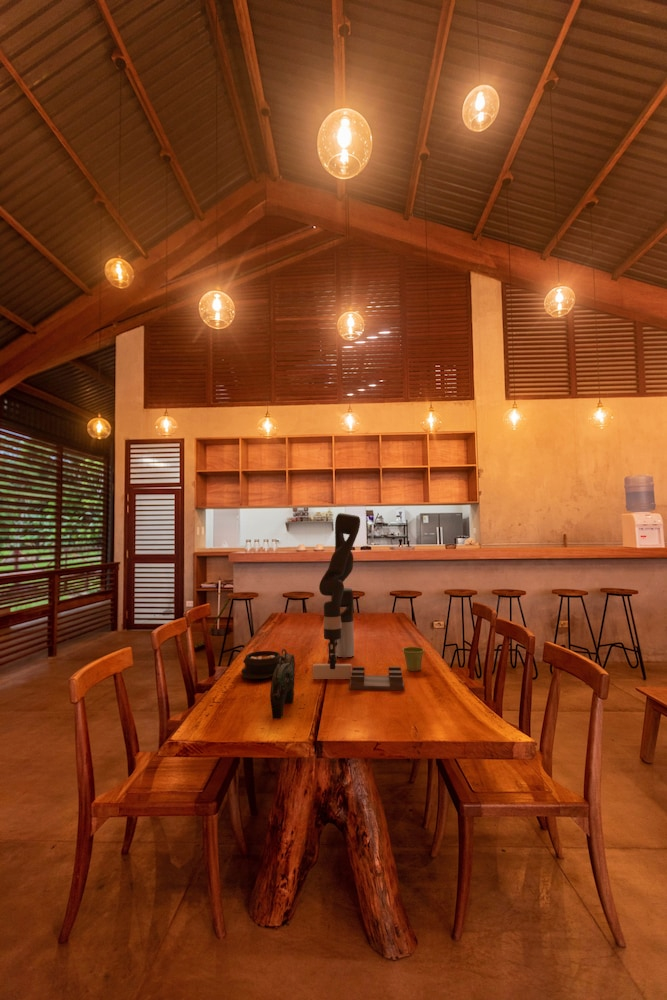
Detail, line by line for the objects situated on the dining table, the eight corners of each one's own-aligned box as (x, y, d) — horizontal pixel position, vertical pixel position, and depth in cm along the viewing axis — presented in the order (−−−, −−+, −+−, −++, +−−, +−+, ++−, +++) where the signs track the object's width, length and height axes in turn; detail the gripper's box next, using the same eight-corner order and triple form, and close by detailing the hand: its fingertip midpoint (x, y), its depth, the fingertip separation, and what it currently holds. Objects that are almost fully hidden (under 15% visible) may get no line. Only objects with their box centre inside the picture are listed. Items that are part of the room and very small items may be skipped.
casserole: (275, 684, 193) (274, 663, 194) (231, 682, 196) (231, 662, 197) (291, 666, 218) (290, 648, 218) (252, 665, 221) (252, 647, 221)
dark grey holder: (351, 678, 198) (351, 666, 198) (402, 679, 196) (401, 666, 196) (349, 689, 184) (349, 676, 184) (404, 690, 182) (404, 676, 183)
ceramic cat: (282, 698, 176) (282, 643, 177) (299, 699, 175) (299, 643, 176) (266, 719, 157) (266, 657, 158) (285, 720, 156) (285, 658, 157)
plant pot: (425, 672, 204) (424, 652, 205) (403, 672, 206) (402, 651, 206) (424, 666, 213) (423, 647, 214) (403, 666, 215) (402, 646, 215)
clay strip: (313, 678, 200) (313, 663, 201) (351, 678, 199) (351, 663, 200) (313, 680, 198) (312, 665, 198) (351, 680, 197) (351, 665, 197)
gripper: (340, 630, 192) (341, 670, 191) (342, 623, 207) (343, 661, 205) (322, 630, 193) (322, 671, 192) (325, 624, 207) (325, 662, 206)
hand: (333, 666), depth 198 cm, fingers open, 8 cm apart
